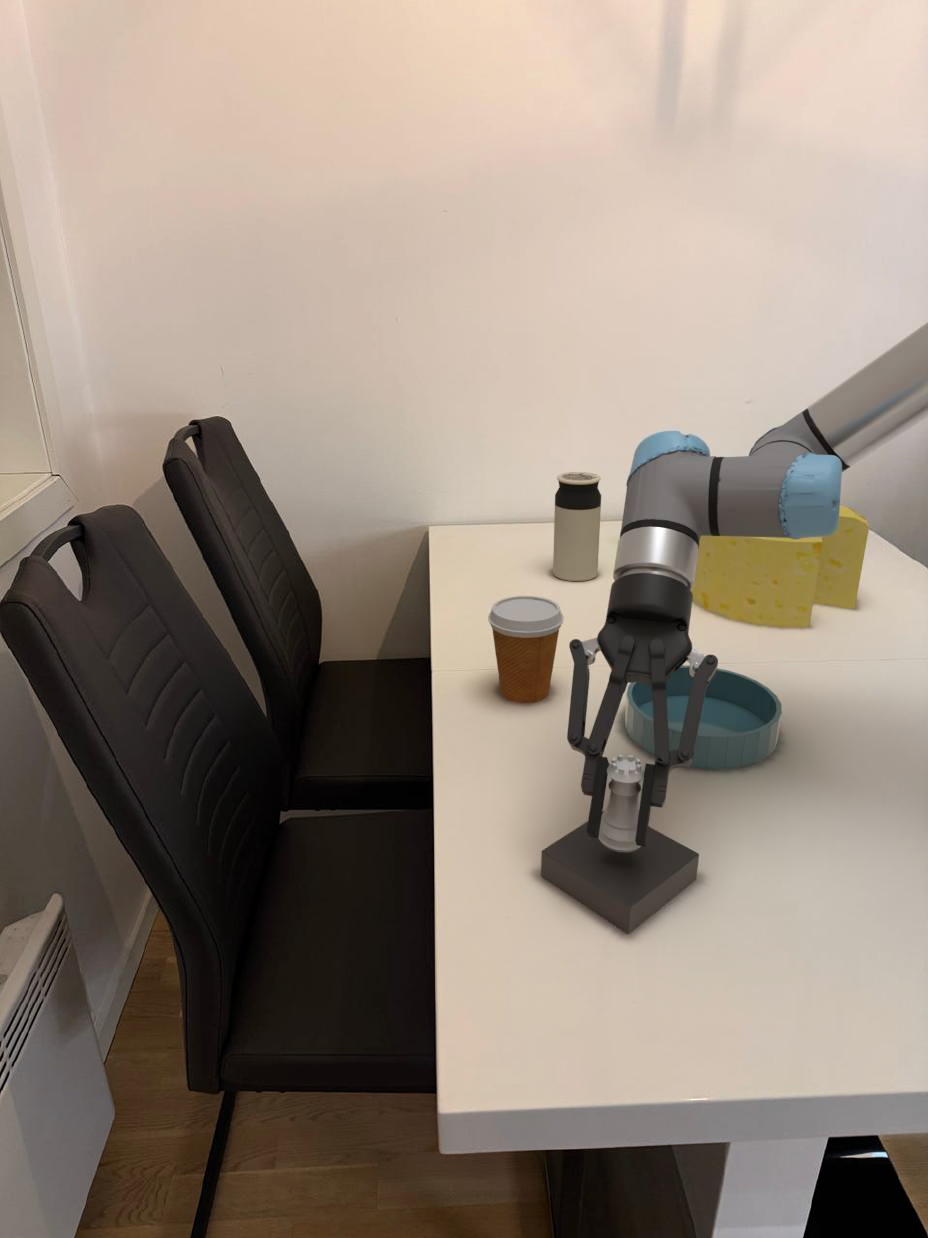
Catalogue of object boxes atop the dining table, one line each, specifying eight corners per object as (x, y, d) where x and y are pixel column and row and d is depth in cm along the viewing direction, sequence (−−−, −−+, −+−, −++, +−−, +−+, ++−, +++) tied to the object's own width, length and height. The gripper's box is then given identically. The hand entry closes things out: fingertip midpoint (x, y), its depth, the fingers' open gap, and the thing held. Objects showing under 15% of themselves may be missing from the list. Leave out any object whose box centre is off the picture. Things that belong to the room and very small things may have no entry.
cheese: (873, 633, 126) (891, 537, 120) (693, 623, 130) (703, 530, 124) (835, 574, 149) (848, 491, 143) (684, 567, 154) (691, 487, 148)
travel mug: (587, 585, 146) (591, 484, 139) (545, 578, 150) (548, 479, 143) (604, 571, 153) (609, 474, 146) (563, 565, 156) (566, 469, 149)
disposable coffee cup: (491, 675, 115) (490, 593, 110) (561, 677, 114) (563, 595, 109) (485, 709, 106) (485, 622, 101) (561, 711, 105) (564, 624, 100)
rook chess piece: (652, 853, 73) (659, 775, 70) (601, 856, 73) (606, 778, 69) (639, 822, 77) (645, 747, 74) (591, 825, 77) (595, 749, 74)
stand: (696, 880, 76) (699, 853, 75) (628, 936, 70) (630, 907, 69) (609, 830, 83) (611, 805, 82) (540, 877, 77) (541, 850, 76)
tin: (810, 750, 96) (815, 717, 94) (681, 784, 90) (685, 750, 88) (713, 685, 111) (716, 655, 109) (597, 711, 105) (599, 680, 103)
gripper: (741, 611, 79) (715, 863, 71) (570, 594, 84) (528, 829, 76) (747, 577, 73) (719, 851, 65) (561, 561, 77) (513, 814, 69)
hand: (616, 838), depth 70 cm, fingers closed on rook chess piece, 3 cm apart
